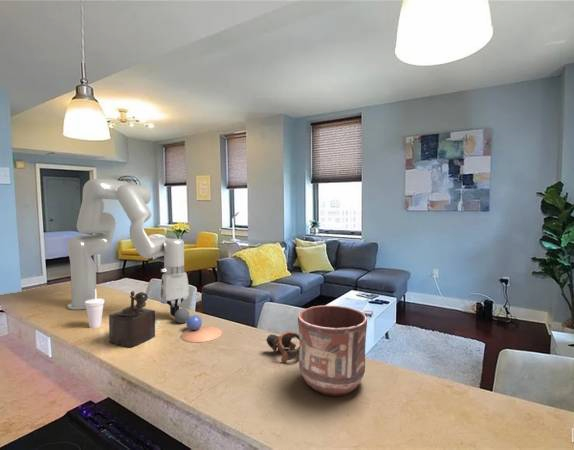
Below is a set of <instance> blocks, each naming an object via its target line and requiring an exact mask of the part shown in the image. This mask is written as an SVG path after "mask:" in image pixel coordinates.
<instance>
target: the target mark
mask: <svg viewBox="0 0 574 450" xmlns="http://www.w3.org/2000/svg"><path fill="white" fill-rule="evenodd" d="M222 334H223V331H222V330H221V329H220V328H217V327H215V326H201V327H200V328H199V329H198V330H195V331H192V330H190V329H188V328H187V329H185V330H184V331H183V332H182V333H181V335H180V338H181V339H182V341H184V342H187V343H194V342H200V343H206V342H212V341H214V340H216V339H218V338H220V337H221V335H222Z"/></svg>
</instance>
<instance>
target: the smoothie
mask: <svg viewBox="0 0 574 450" xmlns="http://www.w3.org/2000/svg"><path fill="white" fill-rule="evenodd" d="M96 295H97V288H96V289H95V299H90V300H87V301H85V305H86V309H85V310H86V314H87V319H88V325H89V328H90V329H95V328H96V329H97V328H100V327H101V326H102V320H103V313H104V311H103V310H104V304H105V299H104V298H101V297H100V298H97V296H98V295H97V296H96Z"/></svg>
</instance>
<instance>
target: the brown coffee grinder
mask: <svg viewBox="0 0 574 450" xmlns="http://www.w3.org/2000/svg"><path fill="white" fill-rule="evenodd" d="M129 298H130V305H129V306H127V307H125V308H123V309H122V310H119V311H116V312H114V313H111V314H110V313H109V315H108V329H109V330H108V332H109V334H108V335H109V341H108V343H109V344H113V345H116V346H121V347H125V348H133V347H134V348H135V347H136V346H140V345H141V344H143V343H146V342H148V341H150V340H152V339H154V338H155V337H156V311H155V310H153V309H148V308H145V307H146V305H147V303H146V301H147V300H148V298H149V296H148V294H147V293H146V292H142V291H141V292H137V293H136V292H135V291H134V290H132V291H131V292H130V296H129ZM135 301H136V303H135Z"/></svg>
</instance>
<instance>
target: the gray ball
mask: <svg viewBox="0 0 574 450" xmlns="http://www.w3.org/2000/svg"><path fill="white" fill-rule="evenodd" d="M189 317H190V312H189V310H188V309H186V308H182V307H181V308H179V309H178V310H177V311H176V313H175V317H174V320H175V321H176V322H177V323H179V324H183V323H186V322H187V319H188V318H189Z"/></svg>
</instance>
